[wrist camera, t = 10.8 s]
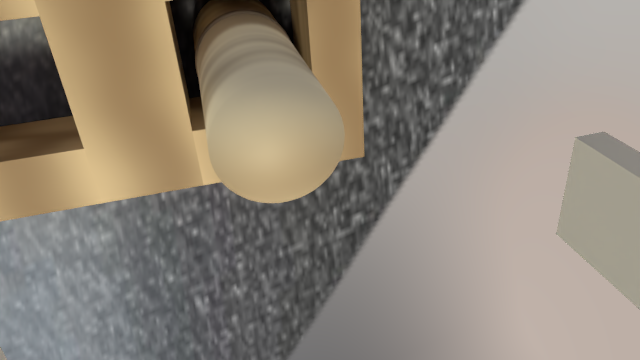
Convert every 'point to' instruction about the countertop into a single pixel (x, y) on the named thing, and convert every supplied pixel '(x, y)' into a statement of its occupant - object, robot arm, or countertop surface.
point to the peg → (262, 105)
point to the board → (145, 102)
